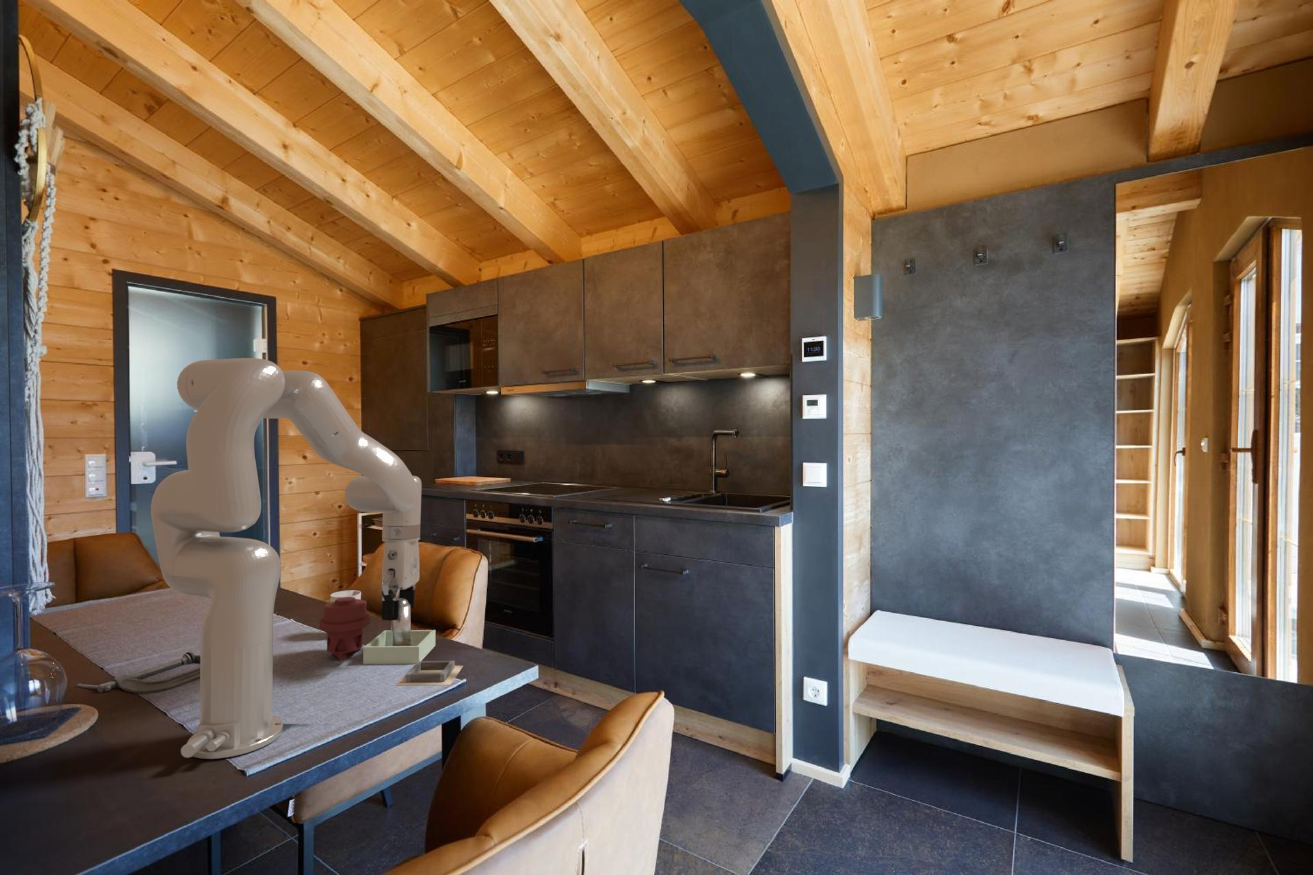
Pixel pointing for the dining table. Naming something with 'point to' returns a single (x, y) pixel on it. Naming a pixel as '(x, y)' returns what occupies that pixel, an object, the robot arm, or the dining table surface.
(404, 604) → the grey rounded tall piece
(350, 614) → the mechanical component
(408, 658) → the bin
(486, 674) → the dining table surface
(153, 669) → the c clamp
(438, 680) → the socket pad
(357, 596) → the white cup
